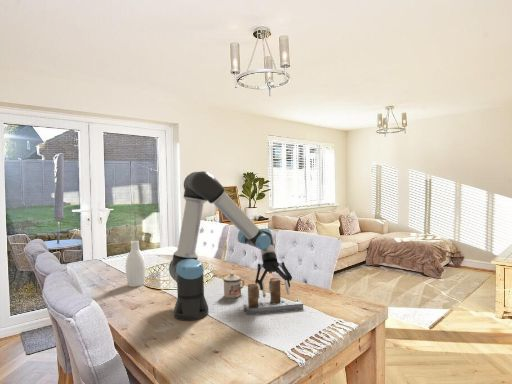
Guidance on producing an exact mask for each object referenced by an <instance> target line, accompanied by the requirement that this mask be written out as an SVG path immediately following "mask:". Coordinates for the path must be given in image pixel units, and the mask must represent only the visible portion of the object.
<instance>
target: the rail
mask: <svg viewBox="0 0 512 384" xmlns="http://www.w3.org/2000/svg"><path fill="white" fill-rule="evenodd" d="M295 309H299V310H303V309H304V303H303V302H302V301H301V299H298V298H297V299H296V301H293V302H292V301H290V302H285V301H284V300H281V303H275V304H272V303H271V304H270V303H269V304H264V303H263V302H259V304H258V305H257V306H248V305H247V304H244V303H243V310H244V312H245V314H246V315H248V314H249V315H257V314H256V313H259V314H267V313H266V312H269V313H276V312H275V311H279V312H284V311H283V310H289V311H296V310H295Z"/></svg>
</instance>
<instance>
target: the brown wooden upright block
mask: <svg viewBox="0 0 512 384" xmlns="http://www.w3.org/2000/svg"><path fill="white" fill-rule="evenodd" d="M268 282H269V283H268V290H269V292H270V294H269V295H270V302H271V304H272V303H275V304H279V303H280V302H281V301H282V300H281V279H279V277H273V278H271V277H270V279H269V281H268Z"/></svg>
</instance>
